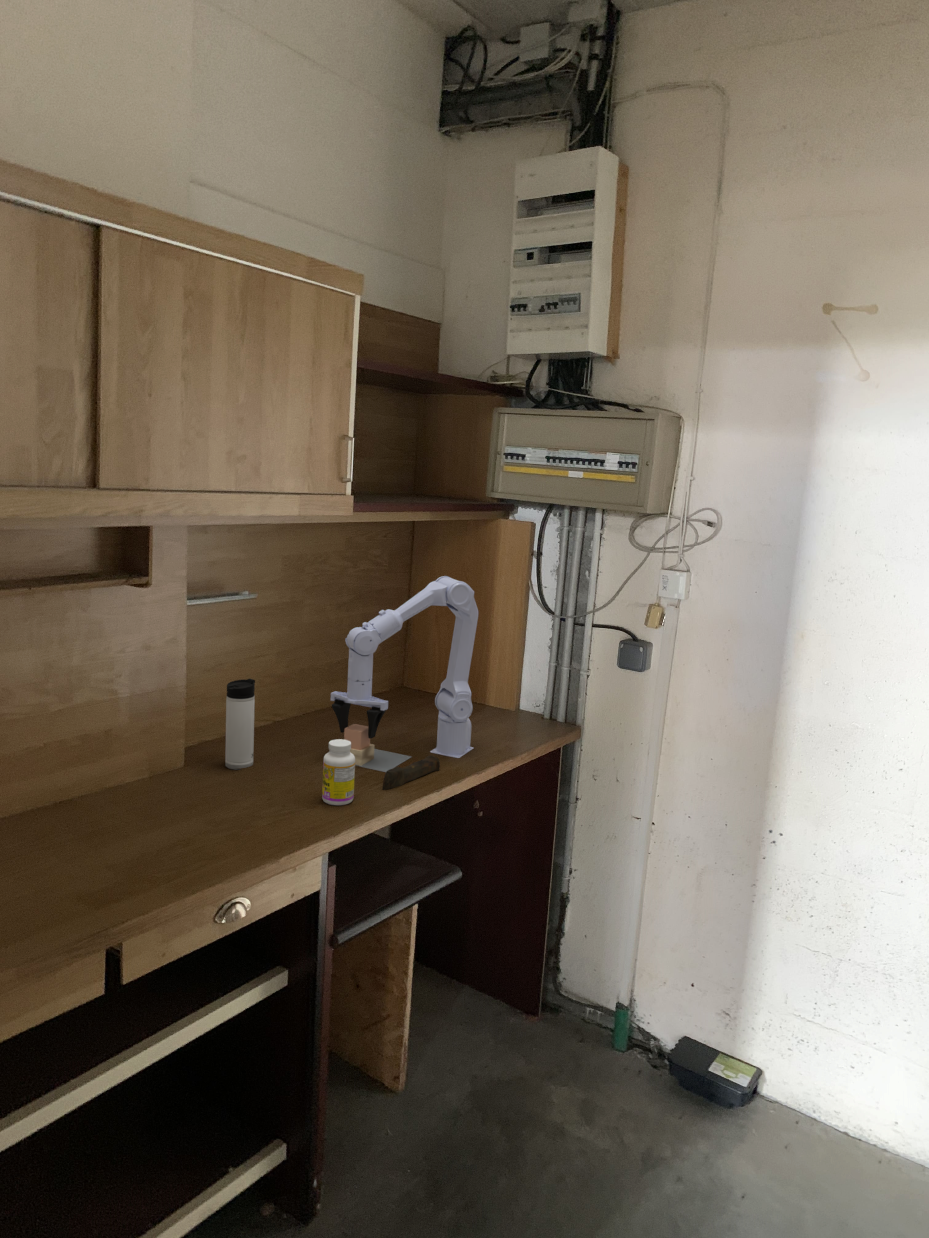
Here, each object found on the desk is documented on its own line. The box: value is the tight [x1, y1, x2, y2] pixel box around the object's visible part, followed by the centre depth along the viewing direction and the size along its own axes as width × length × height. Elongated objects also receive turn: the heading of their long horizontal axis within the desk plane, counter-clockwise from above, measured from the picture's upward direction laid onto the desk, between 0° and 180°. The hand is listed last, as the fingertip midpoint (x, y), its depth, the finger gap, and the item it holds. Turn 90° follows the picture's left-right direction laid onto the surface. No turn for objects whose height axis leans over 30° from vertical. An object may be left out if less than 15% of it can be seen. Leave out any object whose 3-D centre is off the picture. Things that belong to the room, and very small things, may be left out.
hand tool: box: [382, 755, 441, 791], centre depth 207 cm, size 19×4×5 cm, turn 144°
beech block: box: [350, 743, 375, 767], centre depth 217 cm, size 6×6×4 cm
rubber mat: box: [355, 748, 412, 773], centre depth 219 cm, size 13×14×1 cm
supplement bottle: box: [321, 738, 356, 806], centre depth 192 cm, size 7×7×13 cm
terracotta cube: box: [343, 723, 371, 750], centre depth 216 cm, size 4×4×4 cm
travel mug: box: [224, 678, 256, 771], centre depth 209 cm, size 6×7×20 cm
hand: (357, 734), depth 216 cm, fingers open, 7 cm apart
